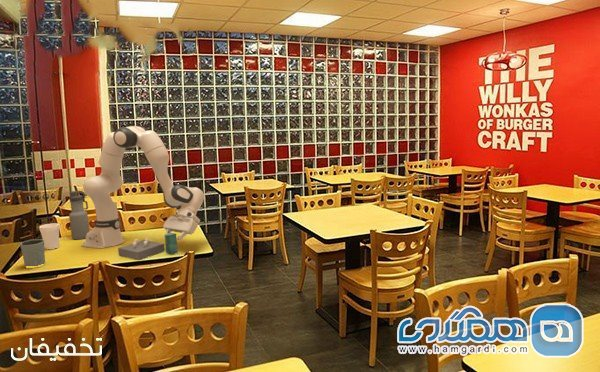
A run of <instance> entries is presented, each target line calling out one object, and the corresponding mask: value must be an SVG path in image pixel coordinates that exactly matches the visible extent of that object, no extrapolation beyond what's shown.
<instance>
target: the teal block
mask: <svg viewBox="0 0 600 372" xmlns="http://www.w3.org/2000/svg"><path fill="white" fill-rule="evenodd" d="M177 240H178V239H177V233H175V232H174V233H173V232H171V233H169V234H166V233H165V234H164V243H165V244H164V246H165V253H166V255H171V256H172V255H176V254H178V253H179V252H178V241H177ZM175 253H176V254H175Z"/></svg>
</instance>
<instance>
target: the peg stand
mask: <svg viewBox="0 0 600 372" xmlns="http://www.w3.org/2000/svg"><path fill="white" fill-rule="evenodd" d="M117 249H118V250H117V252H118V256H119V255H120V256H119V257H123V256H124V258H127V257H128V258H129V259H132V260H137V261H140V259H141V260H143V258H144V259H147V258H149V257H151V256H154V255H157V254H161V253H163V252H166V247H165V244H164V243H162V242H157V241H152V240H149V237H145V238H144V239H143V240H140V241H139V239H138V238H134V241H132V243H129V244H126V245H124V246H120V247H118V248H117ZM148 256H149V257H148Z"/></svg>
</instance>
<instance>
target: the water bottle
mask: <svg viewBox="0 0 600 372" xmlns="http://www.w3.org/2000/svg"><path fill="white" fill-rule="evenodd" d="M69 195H70V196H69V203H70V208H71V212H70V213H69V214H68V219H69V224H70V225H69V227H70V232H71V233H70V234H71V239H72V240H74V239H75V240H76V241H77V240H78V241H79V240H86V234H87V233H88V232H89V231H90V223H89V215H88V212H87V211H86V210H88V209H89V204H88V201H86V200H85V199H86V198H87V197H86V196H87V195H86V193H85V192H84V190H82V191H81V190H73V191H70V192H69ZM84 203H85V206H86V207H85V208H84ZM75 240H74V241H75Z"/></svg>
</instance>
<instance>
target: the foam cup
mask: <svg viewBox="0 0 600 372" xmlns="http://www.w3.org/2000/svg"><path fill="white" fill-rule="evenodd" d="M38 229H39V231H40V234H41V239H43V240H44V249H45V250H46V249H54V248H57V249H59V248H58V247H59V246H60V224H59V223H55V222H54V223H47V224H46V223H45V224H41V225H40V226H39V228H38ZM54 250H55V249H54Z"/></svg>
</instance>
